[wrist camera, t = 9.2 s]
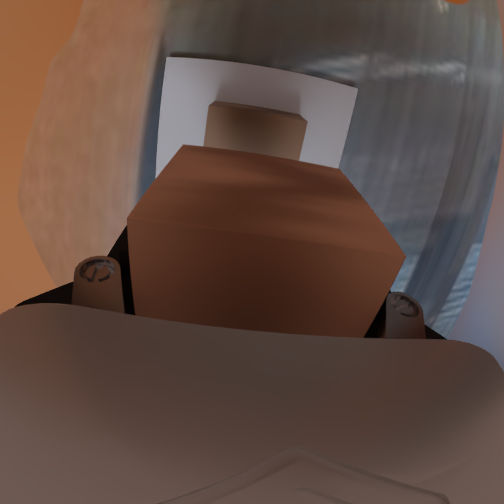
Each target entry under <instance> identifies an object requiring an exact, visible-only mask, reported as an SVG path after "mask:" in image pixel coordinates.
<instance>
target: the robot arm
mask: <svg viewBox="0 0 504 504" xmlns="http://www.w3.org/2000/svg"><path fill="white" fill-rule="evenodd" d="M0 504H504V372H503V370H502V368H501V367H500V365H499V364H498V362H497V361H496V359H495V358H494V356H493V355H491V354H490V353H489V352H487V351H486V350H484V349H482V348H480V347H478V346H475V345H473V344H470V343H466V342H461V341H456V340H447V339H446V338H444V337H443V336H441V335H440V334H438V333H437V332H435V331H434V330H432V329H431V328H429V327H428V326H426V325H425V324H424V316H423V311H422V307H421V306H420V304H419V303H418V302H417V301H416V300H415V299H414V298H412V297H411V296H409V295H407V294H405V293H402V292H391V291H390V290H389V292H388V294H387V296H386V298H385V300H384V302H383V304H382V305H381V307H380V309H379V311H378V313H377V314H376V316H375V318H374V320H373V322H372V323H371V325H370V327H369V329H368V330H367V332H366V334H365V335H364V337H363V338H352V337H331V336H314V335H299V334H286V333H273V332H262V331H251V330H241V329H232V328H223V327H214V326H206V325H198V324H190V323H182V322H175V321H168V320H161V319H154V318H148V317H142V316H136V315H135V308H134V300H133V292H132V282H131V272H130V260H129V247H128V231H127V226H126V227H125V229H124V230H123V232H122V233H121V235H120V236H119V238H118V240H117V241H116V243H115V244H114V246H113V247H112V249H111V251H110V252H109V254H108V256H94V257H90V258H87V259H85V260H83V261H82V262H80V263H79V264H78V266H77V267H76V269H75V272H74V281H73V282H71V283H68V284H66V285H63V286H60V287H58V288H55V289H53V290H50V291H48V292H45V293H43V294H40V295H38V296H36V297H33V298H30V299H28V300H25V301H23V302H21V303H19V304H18V305H16V306H15V307H14V308H11V309H9V310H7V311H5V312H3V313H2V314H0Z"/></svg>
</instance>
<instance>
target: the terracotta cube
mask: <svg viewBox="0 0 504 504" xmlns="http://www.w3.org/2000/svg"><path fill="white" fill-rule="evenodd" d="M127 231H128V247H129V260H130V272H131V282H132V292H133V300H134V308H135V315H136V316H142V317H148V318H154V319H161V320H168V321H175V322H182V323H190V324H198V325H206V326H214V327H223V328H232V329H241V330H251V331H262V332H273V333H286V334H299V335H314V336H331V337H352V338H363V337H364V335H365V334H366V332H367V330H368V329H369V327H370V325H371V323H372V322H373V320H374V318H375V316H376V314H377V313H378V311H379V309H380V307H381V305H382V304H383V302H384V300H385V298H386V296H387V294H388V292H389V290H390V288H391V286H392V284H393V282H394V280H395V278H396V276H397V274H398V272H399V270H400V268H401V266H402V264H403V262H404V260H405V258H406V256H405V254H404V253H403V251H402V250H401V248H400V247H399V246H398V244H397V243H396V241H395V240H394V239H393V237H392V236H391V234H390V233H389V232H388V230H387V229H386V227H385V226H384V225H383V223H382V222H381V221H380V219H379V218H378V217H377V215H376V214H375V213H374V211H373V210H372V209H371V208H370V206H369V205H368V204H367V202H366V201H365V200H364V199H363V197H362V196H361V195H360V193H359V192H358V191H357V190H356V188H355V187H354V186H353V185H352V184H351V182H350V181H349V180H348V179H347V177H346V176H345V175H344V174H343V173H342V171H341V170H340V169H337V168H333V167H328V166H323V165H318V164H313V163H308V162H303V161H298V160H292V159H287V158H281V157H275V156H269V155H263V154H256V153H250V152H243V151H236V150H228V149H221V148H212V147H204V146H195V145H185V144H183V145H182V146H181V148H180V149H179V150H178V151H177V152H176V154H175V155H174V156H173V157H172V159H171V160H170V161H169V162H168V164H167V165H166V166H165V167H164V169H163V170H162V171H161V173H160V174H159V175H158V176H157V178H156V179H155V180H154V182H153V183H152V184H151V186H150V187H149V188H148V190H147V191H146V192H145V194H144V195H143V196H142V198H141V199H140V201H139V202H138V203H137V205H136V206H135V208H134V209H133V210H132V212H131V213H130V215H129V216H128V218H127Z"/></svg>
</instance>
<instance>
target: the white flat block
mask: <svg viewBox="0 0 504 504" xmlns="http://www.w3.org/2000/svg"><path fill="white" fill-rule="evenodd" d="M357 92H358V89H357V88H354V87H351V86H347V85H344V84H340V83H337V82H333V81H329V80H325V79H321V78H317V77H313V76H309V75H305V74H300V73H295V72H291V71H286V70H281V69H275V68H270V67H264V66H258V65H251V64H244V63H237V62H228V61H219V60H209V59H197V58H180V57H167V58H166V66H165V73H164V81H163V90H162V99H161V109H160V119H159V131H158V145H157V162H156V178H157V176H158V175H159V174H160V173H161V171H162V170H163V169H164V167H165V166H166V165H167V164H168V162H169V161H170V160H171V159H172V157H173V156H174V155H175V154H176V152H177V151H178V150H179V149H180V148H181V146H182V145H183V144H185V145H195V146H204V147H212V148H221V149H228V150H236V151H243V152H250V153H256V154H263V155H269V156H275V157H281V158H287V159H292V160H298V161H303V162H308V163H313V164H318V165H323V166H328V167H333V168H337V169H338V167H339V164H340V160H341V156H342V152H343V149H344V145H345V141H346V137H347V133H348V129H349V125H350V121H351V117H352V113H353V109H354V105H355V101H356V96H357Z"/></svg>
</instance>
